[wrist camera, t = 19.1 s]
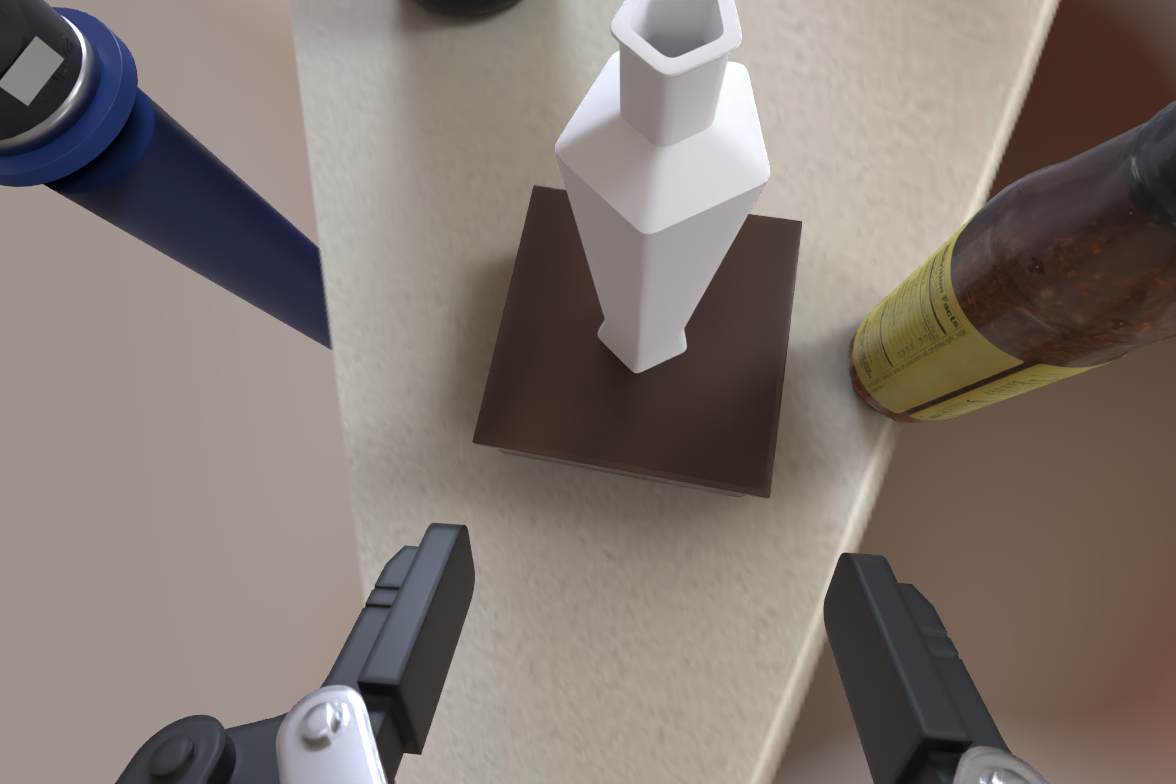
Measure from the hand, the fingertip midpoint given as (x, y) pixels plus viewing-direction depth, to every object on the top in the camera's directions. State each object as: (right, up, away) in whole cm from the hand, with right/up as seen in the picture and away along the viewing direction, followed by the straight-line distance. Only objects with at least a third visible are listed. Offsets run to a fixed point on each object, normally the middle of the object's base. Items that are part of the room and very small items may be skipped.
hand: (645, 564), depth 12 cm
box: (+1, +5, +16) cm, 17 cm away
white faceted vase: (+1, +6, +12) cm, 13 cm away
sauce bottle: (+15, +5, +16) cm, 22 cm away
